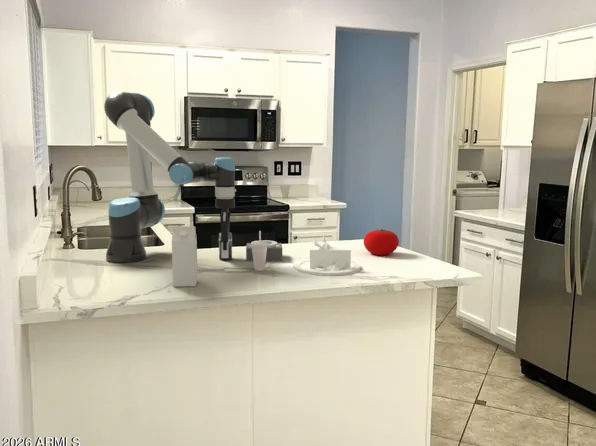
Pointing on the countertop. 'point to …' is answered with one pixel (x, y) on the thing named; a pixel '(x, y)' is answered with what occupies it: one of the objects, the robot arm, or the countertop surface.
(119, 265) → the countertop surface
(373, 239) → the tomato
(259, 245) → the smoothie
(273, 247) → the camera body
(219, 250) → the lens
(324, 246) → the dish
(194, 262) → the milk carton
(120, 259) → the robot arm
